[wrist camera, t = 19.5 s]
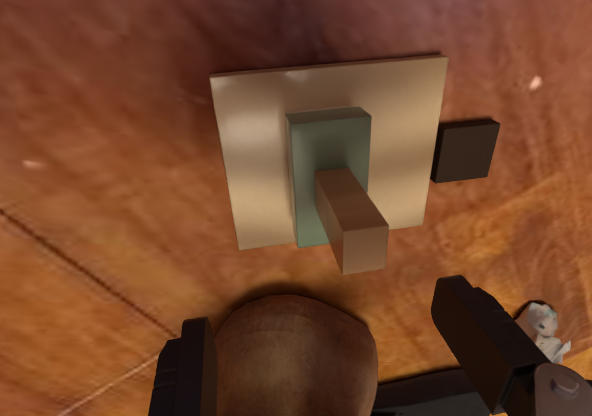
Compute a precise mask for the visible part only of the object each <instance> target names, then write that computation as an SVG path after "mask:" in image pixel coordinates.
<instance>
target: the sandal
mask: <svg viewBox="0 0 592 416" xmlns="http://www.w3.org/2000/svg"><path fill="white" fill-rule="evenodd" d="M490 413H491V412H490V411H489V409H488V408H487V406H486V404H485V403H484V401H483V400H482V398H481V397H480V395H479V393H478V392H477V390H476V389H475V387H474V386H473V384H472V382H471V381H470V379H469V378H468V376H467V375H466V373H465V371H464V370H463V369H454V370H448V371H441V372H437V373H432V374H428V375H425V376H419V377H415V378H412V379H407V380H403V381H398V382H394V383H390V384H383V385H380V386H377V390H376V396H375V400H374V403H373V407H372V410H371V414H370V416H489V415H490Z"/></svg>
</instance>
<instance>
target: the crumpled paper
mask: <svg viewBox="0 0 592 416" xmlns="http://www.w3.org/2000/svg"><path fill="white" fill-rule="evenodd" d="M557 315H558V314H557V313H556V312H555V311H553V310H552V309H550V307H549V306H548V305H546V304H537V303H532V302H531V303H530V304H528V306H527V307H526V308H525V309H524V310H523V311H522V312H521V315H520V316H519V317H518V318H517V319H516V320H515V321H514V322H516V323H517V324H518V325H519V326H520V327H521V328H522V329H523V331H524V332H525V333H526V334H527V335H528V336H529V337H530V338H531V340H532V341H533V342H534V343H535V344H536V345H537V346H538V347H539V349H540V350H541V351H542V352H543V353H544V354H545V355H546V356H547V358H548V359H549V360H550V361H551V362H552V363H555V364H557V363H558V362H560V363H561V364H562V357H563V354H564V353H565V352H567V351H569V350H570V347H571V341H569V343H565V345H562V343H561V342H560V340H559V339H558V338H555V337H553V335H554V332H555V330H556V329H557V328H558V325H557V319H556V317H557Z"/></svg>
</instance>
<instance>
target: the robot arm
mask: <svg viewBox="0 0 592 416" xmlns="http://www.w3.org/2000/svg"><path fill="white" fill-rule="evenodd" d="M431 315H432V319H433V322H434V324H435V326H436V327H437V329H438V331H439V332H440V334H441V335H442V337H443V338H444V340H445V342H446V343H447V345H448V346H449V348H450V349H451V351H452V353H453V354H454V356H455V357H456V359H457V360H458V362H459V364H460V365H461V367H462V368H463V370H464V371H465V373H466V375H467V376H468V378H469V379H470V381H471V382H472V384H473V386H474V387H475V389H476V390H477V392H478V393H479V395H480V397H481V398H482V400H483V401H484V403H485V404H486V406H487V408H488V409H489V411H490V412H491V414H492V415H496V414H500V413H505V412H506V413H507V415H508V416H592V380H586V379H584V378H583V377H582V376H581V375H579V374H578V373H577V372H575V371H573V370H572V369H570V368H568V367H566V366H563V365H560V364H555V363H552V362H551V361H550V360H549V359H548V358H547V356H546V355H545V354H544V353H543V352H542V351H541V350H540V349H539V347H538V346H537V345H536V344H535V343H534V342H533V341H532V340H531V338H530V337H529V336H528V335H527V334H526V333H525V332H524V331H523V329H522V328H521V327H520V326H519V325H518V324H517V323H516V322H514V321H513V318H512V317H511V316H510V315H509V314H508V313H507V311H506V312H505V311H504V308H503V307H502V306H501V305H500V304H499V302H498V301H497V300H496V299H495V298H494V297H493V296H492V295H490V294H488V293H487V292H485V291H484V290H482V289H481V288H479V287H476V288H473V287H472V286H471V285H470V283H469V282H468V281H467V280H466V279H465V278H464V277H463V276H462V275H454V276H449V277H443V278H439V279H438V280H437V282H436V287H435V291H434V296H433V301H432V306H431ZM148 416H217V352H216V346H215V342H214V338H213V334H212V331H211V327H210V323H209V319H208V317H207V316H206V317H200V318H194V319H188V320H184V321H183V325H182V333H181V338H178V339H172V340H168V341H167V343H166V345H165V346H164V348H163V350H162V351H161V353H160V354H159V358H158V363H157V369H156V375H155V380H154V389H153V391H152V397H151V402H150V408H149V413H148Z"/></svg>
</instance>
